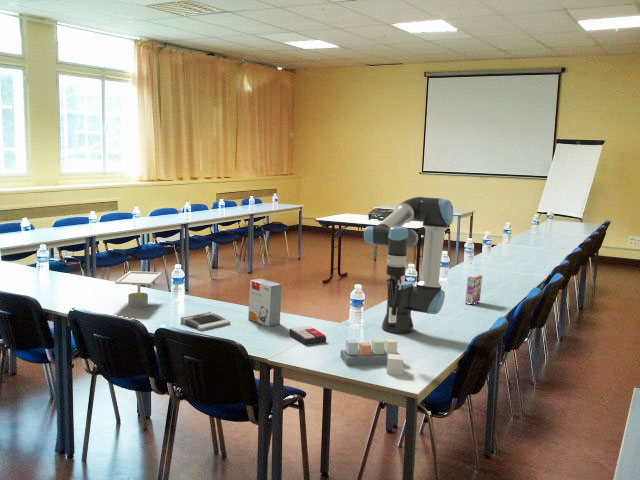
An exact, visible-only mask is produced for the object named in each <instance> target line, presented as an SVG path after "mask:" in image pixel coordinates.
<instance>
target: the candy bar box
mask: <svg viewBox="0 0 640 480" xmlns="http://www.w3.org/2000/svg"><path fill="white" fill-rule="evenodd" d="M466 281H467V285H466V291H465V293H466V294H465V302H466V303H470V304H474V303H476V302H478V301H481V293H482V282H483V275H481V274H473V275H470V276H467V280H466Z"/></svg>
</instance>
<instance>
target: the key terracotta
mask: <svg viewBox="0 0 640 480" xmlns="http://www.w3.org/2000/svg"><path fill="white" fill-rule="evenodd" d="M371 349H372V344H371V343H370V342H358V350H359V354H360V355H371Z"/></svg>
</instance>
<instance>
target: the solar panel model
mask: <svg viewBox="0 0 640 480" xmlns="http://www.w3.org/2000/svg"><path fill="white" fill-rule="evenodd" d="M162 274H163V273H162V272H159V271H156V272H155V271H138V270H137V271H135V270H129V271H128V272H126V273H125V274H124V275H122V276H121V277H120V278H118V279H117V280H115V281H114V284H115V285H137V292H131V293H129V294H128V295H127V296H128V307H129V308H134V309H135V308H136V309H138V308H139V309H140V308H146V307H147V306H148V305H149V304H148V303H149V294H148V293H146V292H141V286H150V285H152V284H153V283H154V282H155V281H156V280H157V279H158V278H159V277H160V276H161V275H162Z"/></svg>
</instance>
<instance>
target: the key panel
mask: <svg viewBox="0 0 640 480" xmlns="http://www.w3.org/2000/svg"><path fill="white" fill-rule="evenodd" d="M397 354H398V355H401V354H400V353H399V351H397ZM340 358H341V360H342V361H343V363H344V364H345V365H346V366H368V365H369V366H370V365H372V366H375V365H377V366H378V365H387V359H388V354H387V353H386V352H385V351H384V354H374V353H373V352H372V348H371V355H360V354H359V349H358V355H348V354H347V353H346V349H340Z"/></svg>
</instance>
